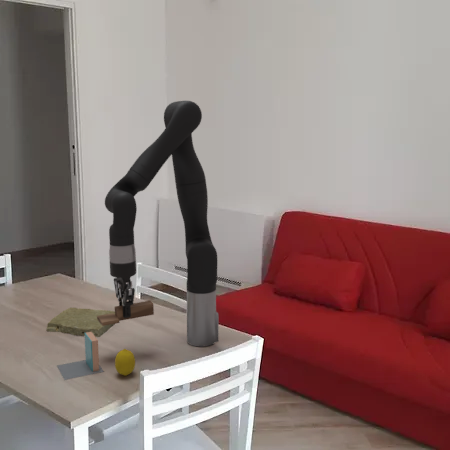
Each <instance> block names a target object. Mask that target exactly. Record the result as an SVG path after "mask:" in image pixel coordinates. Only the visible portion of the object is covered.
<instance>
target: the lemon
mask: <svg viewBox="0 0 450 450" xmlns="http://www.w3.org/2000/svg"><path fill="white" fill-rule="evenodd" d="M114 367H115V371H116V372H117V373H118V374H120V375H123V376H124V377H127V376H128V375H130V374H131V373H133V372H134V370H135V367H136V359H135V355H134V353H133V352H132V351H131V350H129V349H126V348H123V349H122V350H120V351H119V352H117V354H116V356H115V359H114Z"/></svg>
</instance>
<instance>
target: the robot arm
mask: <svg viewBox="0 0 450 450" xmlns="http://www.w3.org/2000/svg"><path fill="white" fill-rule="evenodd" d="M202 116H203V115H202V109H201V108H200V106H199V104H197V103H196V102H193V101H191V100H178V101H173V102H171V103H169V104H168V105H167V106H166V108H165V109H164V113H163V122H164V126H165V129H164V130H163V132H161V134H160V135H159V136H158V137H157V138H156V140H154V141H153V142H152V143H151V144H150V145H149V146H148V147H147V148H146V149H145V150H144V151H143V152H142V153H140V155H139V156H138V158H137V159H136V160H135V161H134V162H133V164H132V165H131V167H130V168H129V169H128V171H127V172H126V174H125V175H124V176H123V177H122V178H120V180H118V181H117V182H116V183H115V184H114V185H113V186H112V187H111V188H110V190H109V191H108V192H107V194H106V196H105V198H104V206H105V208H106V209H107V211H108V212H109V213H111V214H112V216H113V217H112V224H111V225H110V226H109V228H108V229H109V230H108V232H109V233H108V236H109V237H108V238H109V249H108V250H109V251H108V254H109V257H108V259H109V272H110V273H109V274H110V276H111V277H113V284H114V291H115V296H116V299H117V302H118V306H122V305H123V306H122V307H123V317H124V318H129V317H131V307H130V305H133V303H134V299H135V291H136V290H135V288H134V287H133V281H131V278H132V277H134V276H135V275H136V274H137V259H136V258H137V257H136V256H137V255H136V252H137V251H136V247H135V245H136V244H135V231H134V230H135V229H134V227H135V223H136V217H137V207H138V206H137V202H136V199H135V196H136V195H137V194H138V193H140V192H143V191H145V190H146V189H147V188H148V186H149V185H150V184H151V182H152V181H153V179H155V177H156V175H157V174H158V173H159V171H161V169H162V167H163V166H164V164H166V162H167V161H168V160H169V158H172V160H171V161H172V166H173V174H174V182H175V189H176V195H177V201H178V205H179V210H180V213H181V217H182V219H183V224H184V226H183V227H184V235H185V236H184V237H185V238H184V239H185V256H186V264H187V267H186V268H187V269H186V270H187V273H186V275H187V276H186V342H187V343H188V344H189V345H191V346H193V347H208V346H212V345H213V344H215V343H217V342H219V312H218V311H217V283H218V252H217V249H216V247H215V246H214V244H213V241H212V237H211V233H210V230H209V228H210V227H209V225H208V205H209V204H208V200H209V199H208V197H209V196H208V187H207V181H206V175H205V171H204V169H203V166H202V164H201V162H200V160H199V157H198V155H197V153H196V150H195V147H194V144H193V143H194V142H193V136H192V133H193V132H194V131H196V130H197V129H198V127H199V126H200V125H201V123H202V118H203V117H202Z"/></svg>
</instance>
